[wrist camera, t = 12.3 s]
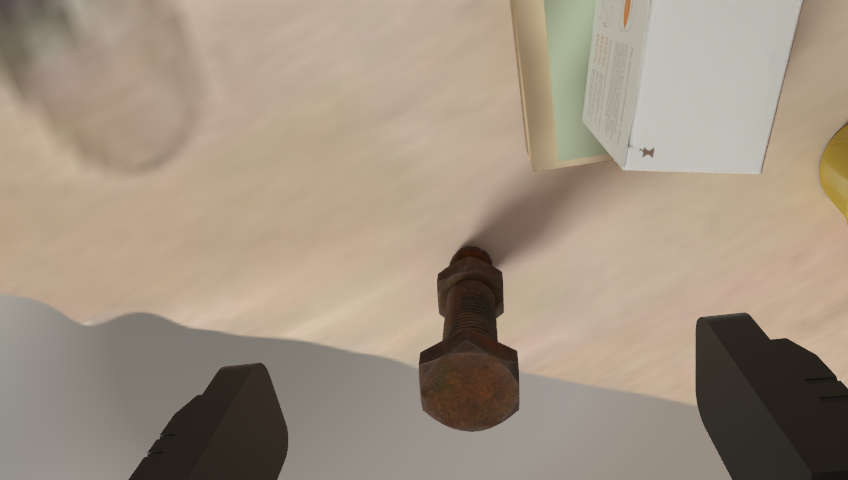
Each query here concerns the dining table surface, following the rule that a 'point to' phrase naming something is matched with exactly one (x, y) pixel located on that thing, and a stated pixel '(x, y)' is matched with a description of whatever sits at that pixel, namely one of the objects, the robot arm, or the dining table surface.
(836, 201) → the plant pot
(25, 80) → the dining table surface
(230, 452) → the robot arm
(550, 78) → the base block
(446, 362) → the bolt
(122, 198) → the dining table surface
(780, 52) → the small box
